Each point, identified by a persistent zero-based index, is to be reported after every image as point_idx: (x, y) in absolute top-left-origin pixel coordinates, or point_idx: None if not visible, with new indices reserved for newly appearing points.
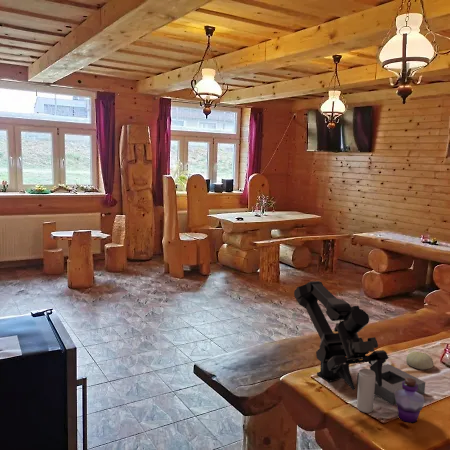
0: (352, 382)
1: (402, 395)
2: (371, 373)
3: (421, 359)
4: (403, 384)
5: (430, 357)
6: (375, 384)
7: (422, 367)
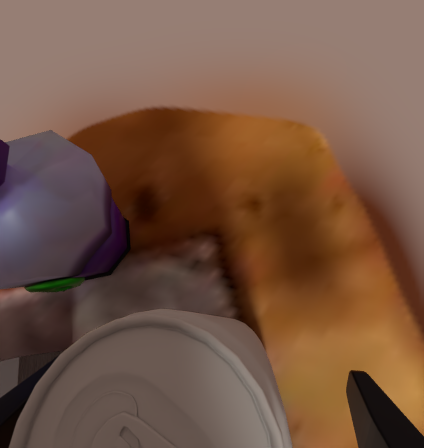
0: (402, 437)
1: (49, 194)
2: (94, 401)
3: None
4: None
5: None
6: None
7: None
